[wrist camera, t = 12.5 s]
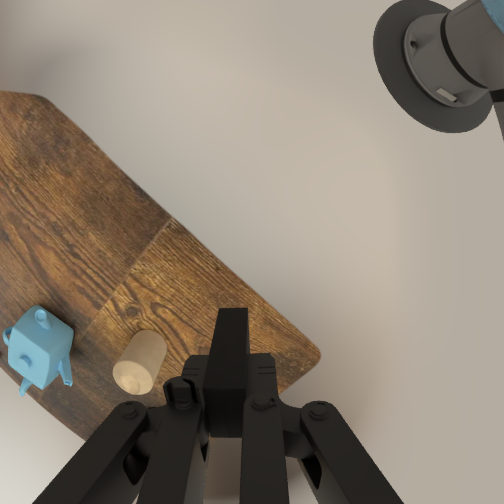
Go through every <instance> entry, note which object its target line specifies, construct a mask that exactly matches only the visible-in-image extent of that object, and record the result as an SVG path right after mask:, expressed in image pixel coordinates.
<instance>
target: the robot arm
mask: <svg viewBox="0 0 504 504" xmlns="http://www.w3.org/2000/svg"><path fill="white" fill-rule="evenodd" d="M401 51H402V57H403V61H404V64H405V66H406V69H407V71H408V73H409V75H410V76H411V78H412V80H413V81H414V83H415V84H416V85H417V86H418V88H419V89H420V90H421V91H422V92H423V93H424V94H425V95H426V96H428V97H429V98H430V99H431V100H433V101H434V102H436V103H438V104H440V105H443V106H445V107H450V108H460V107H465V106H469V105H472V104H473V103H475V102H476V101H477V100H478V99H480V98H481V97H482V96H483V95H484V94H485V93H486V92H487V91H488V90H489V92H490V95H491V98H492V101H493V105H494V108H495V111H496V114H497V118H498V121H499V124H500V128H501V132H502V136H503V140H504V0H467V1H465V2H464V3H462V4H461V5H459V6H458V7H456V8H455V9H453V10H452V11H450V12H449V13H441V14H431V15H424V16H421V17H419V18H417V19H415V20H414V21H413V22H411V23H410V24H409V25H408V26H407V27H406V29H405V31H404V33H403V36H402V40H401ZM163 389H164V393H165V397H166V401H167V404H166V405H164V406H161V407H157V408H151V409H146V407H145V406H144V405H143V404H142V403H140V402H137V401H127V402H124V403H121V404H119V405H118V406H117V407H116V408H115V409H114V410H113V411H112V412H111V413H110V415H109V416H108V417H107V418H106V419H105V420H104V421H103V423H102V424H101V425H100V426H99V427H98V428H97V430H96V431H95V432H94V433H93V434H92V435H91V436H90V438H89V439H88V440H87V441H86V442H85V443H84V445H83V446H82V447H81V448H80V449H79V450H78V451H77V453H76V454H75V455H74V456H73V457H72V458H71V459H70V461H69V462H68V463H67V464H66V465H65V466H64V467H63V469H62V470H61V471H60V472H59V473H58V474H57V476H56V477H55V478H54V479H53V480H52V482H50V484H49V485H48V486H47V487H46V488H45V490H44V491H43V492H42V493H41V494H40V495H39V496H38V497H37V499H36V500H35V501H34V502H33V503H32V504H132V503H133V501H134V500H135V498H136V497H137V495H138V494H139V496H138V500H137V503H136V504H203V498H204V490H205V482H206V474H207V466H208V458H209V451H210V450H209V449H210V444H209V432H210V435H211V437H220V438H222V437H224V438H242V452H241V454H242V455H241V478H240V504H289V493H288V482H287V471H286V460H285V456H287V457H293V458H297V461H298V462H299V465H300V467H301V469H302V471H303V473H304V475H305V477H306V479H307V481H308V483H309V485H310V487H311V489H312V491H313V493H314V495H315V497H316V499H317V501H318V503H319V504H404V503H403V502H402V500H401V499H400V498H399V496H398V495H397V493H396V492H395V491H394V489H393V488H392V486H391V485H390V484H389V482H388V481H387V480H386V478H385V477H384V475H383V474H382V472H381V471H380V470H379V468H378V467H377V465H376V464H375V463H374V461H373V460H372V458H371V457H370V456H369V454H368V453H367V451H366V450H365V449H364V447H363V446H362V444H361V443H360V442H359V440H358V439H357V437H356V436H355V434H354V433H353V432H352V430H351V429H350V427H349V426H348V424H347V423H346V422H345V420H344V419H343V417H342V416H341V414H340V413H339V412H338V410H337V409H336V407H334V406H333V405H332V404H331V403H328V402H326V401H313V402H310V403H307V404H305V406H303V407H302V408H296V407H292V406H289V405H286V404H284V403H283V402H282V401H281V400H280V398H279V396H278V388H277V378H276V368H275V359H274V358H273V357H272V356H271V354H270V353H255V354H250V344H249V324H248V308H219V311H218V316H217V320H216V325H215V330H214V334H213V339H212V344H211V348H210V353H209V355H191V356H190V357H189V358H188V359H187V360H186V361H185V364H184V368H183V371H182V375H181V376H178V377H174V378H171V379H169V380H168V381H166V382H165V383H164V385H163Z"/></svg>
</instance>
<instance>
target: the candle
mask: <svg viewBox="0 0 504 504" xmlns="http://www.w3.org/2000/svg"><path fill="white" fill-rule="evenodd" d="M166 353H167V344H166V341H165V340H164V338H163V337H162V336H161V335H160V334H158V333H157V332H155V331H152V330H147V329H145V330H141V331H139V332H137V333H136V334H135V335H134V337H133V338H132V340H131V341H130V343H129V344H128V346H127V347H126V349H125V350H124V352H123V354H122V355H121V357H120V358H119V360H118V361H117V363H116V365H115V366H114V368H113V376H114V379H115V381H116V382H117V384H118V385H119V386H120V387H121V388H122V389H123V390H125V391H126V392H128V393H130V394H137V395H141V394H145V393H148V392H149V391H150V390H151V388H152V386H153V384H154V382H155V379H156V377H157V374H158V372H159V370H160V367H161V365H162V363H163V360H164V358H165V356H166Z"/></svg>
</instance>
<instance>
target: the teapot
mask: <svg viewBox="0 0 504 504" xmlns="http://www.w3.org/2000/svg"><path fill="white" fill-rule="evenodd" d="M8 334H11V336H10V339H9V338H8V337H7V335H8ZM73 335H74V331H73V329H72V328H70V327H69V326H68V325H66V324H65V323H64V322H62V321H61V320H59V319H58V318H57V317H55V316H54V315H52V314H51V313H50V312H48V311H47V310H45V309H44V308H42V307H41V306H39V305H36V306H33V307H31V308H30V309H29V310H28V311H27V312H26V313H25V314H24V315H23V316H22V317H21V318H20V319H19V320H18V322H17V323H16V324H15V325H14V326H13V327H8V328H6V329H5V330H4V332H3V340H4V342H5V344H6V345H7V346H9V349H8V363H9V365H10V366H11V367H12V368H13V369H15V370H16V371H17V372H18V373H20V374H21V375H22V376H24V379H23V381H22V384H21V386H20V389H19V394H20V395H21V396H24V394H25V392H26V390H27V389H28V388H29V386H30V385H31V384H34V385H36V386H37V387H39V388H40V389H44V388H45V387H46V386H47V385H49V384H50V383H51V382H52V381H53V380H54V379H55V378H56V377H57V376H58V375H59V374H61V376H62V379H63V381H64V384H67V385H69V386H72V382H73V381H72V374H71V366H70V359H69V353H70V349H71V345H72V341H73Z"/></svg>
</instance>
